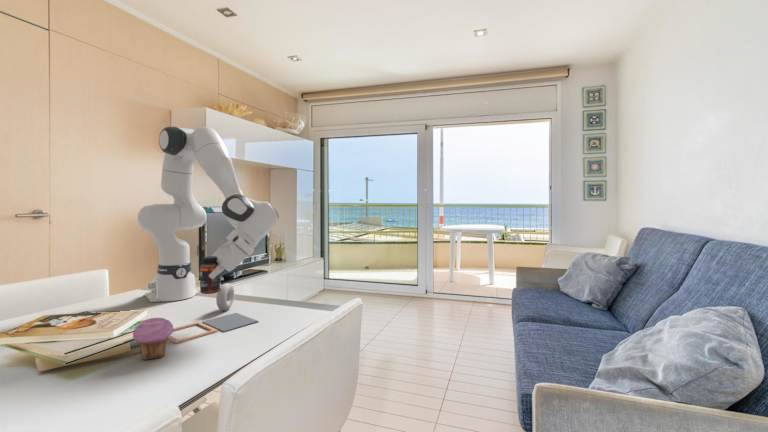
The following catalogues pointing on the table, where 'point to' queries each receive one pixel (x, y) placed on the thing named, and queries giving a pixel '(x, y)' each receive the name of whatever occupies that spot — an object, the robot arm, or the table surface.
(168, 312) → the table surface
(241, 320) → the mat
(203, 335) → the frame
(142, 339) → the cupcake
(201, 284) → the supplement bottle
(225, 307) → the white toy tire
